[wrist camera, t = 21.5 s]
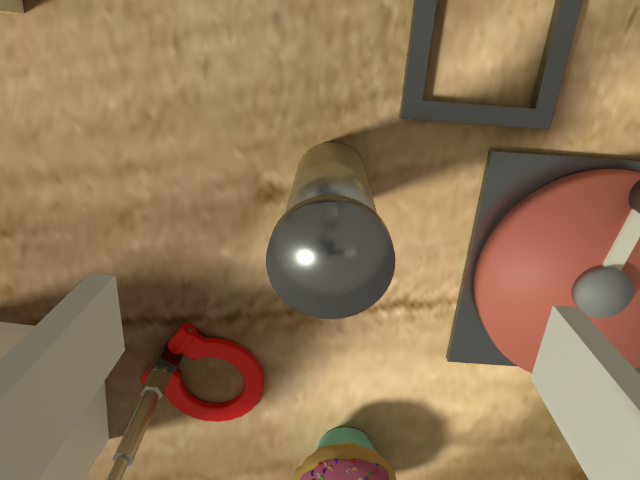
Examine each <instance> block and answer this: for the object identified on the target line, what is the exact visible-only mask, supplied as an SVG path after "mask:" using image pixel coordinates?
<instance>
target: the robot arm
mask: <svg viewBox="0 0 640 480" xmlns="http://www.w3.org/2000/svg"><path fill="white" fill-rule="evenodd" d="M124 351H125V346H124V338H123V330H122V322H121V314H120V306H119V298H118V290H117V282H116V275H114V274H100V273H89V274H88V275H87V276H86V277H85V278H84V279H83V280H82V281H81V282H80V283H79V284H78V285H77V286H76V287H75V288H74V289H73V290H72V291H71V292H70V293H69V294H68V295H67V296H66V297H65V298H64V299H62V300H61V301H60V302H59V303H58V304H57V305H56V306H55V307H54V308H53V309H52V310H51V311H50V312H49V313H48V314H47V315H46V316H45V317H44V318H43V319H42V320H41V321H40V322H39V323H38V324H37V325H36V326H35V327H34V328H33V329H32V330H31V331H30V332H29V333H28V334H26V335H25V336H24V337H23V338H22V339H21V340H20V341H19V342H18V343H17V344H16V345H15V346H14V347H13V348H12V349H11V350H10V351H9V352H8V353H7V354H6V355H5V356H4V357H3V358H2V359H1V360H0V480H39V479H40V478H41V476H42V475H43V473H44V472H45V470H46V469H47V467H48V466H49V464H50V463H51V461H52V460H53V458H54V456H55V455H56V453H57V452H58V450H59V449H60V447H61V446H62V444H63V443H64V441H65V440H66V438H67V437H68V435H69V434H70V432H71V431H72V429H73V428H74V426H75V425H76V423H77V422H78V420H79V419H80V417H81V416H82V414H83V413H84V411H85V410H86V408H87V407H88V405H89V404H90V402H91V401H92V399H93V398H94V396H95V395H96V393H97V392H98V390H99V389H100V387H101V386H102V384H103V383H104V381H105V380H106V378H107V377H108V375H109V374H110V372H111V371H112V369H113V368H114V366H115V364H116V363H117V361H118V360H119V358H120V357H121V355H122V354H123V352H124ZM530 379H531V380H532V382H533V384H534V386H535V387H536V389H537V391H538V392H539V394H540V396H541V398H542V399H543V401H544V403H545V405H546V406H547V408H548V410H549V412H550V413H551V415H552V417H553V418H554V420H555V422H556V424H557V425H558V427H559V429H560V431H561V432H562V434H563V436H564V438H565V439H566V441H567V443H568V444H569V446H570V448H571V450H572V451H573V453H574V455H575V457H576V458H577V460H578V462H579V463H580V465H581V467H582V469H583V470H584V472H585V474H586V476H587V477H588V479H589V480H640V374H639V373H638V372H637V371H636V370H635V369H634V368H633V367H632V365H631V364H630V363H629V362H628V361H627V360H626V359H625V358H624V357H623V356H622V354H621V353H620V352H619V351H618V350H617V349H616V348H615V347H614V346H613V344H612V343H611V342H610V341H609V340H608V339H607V338H606V337H605V336H604V335H603V333H602V332H601V331H600V330H599V329H598V328H597V327H596V326H595V325H594V324H593V322H592V321H591V320H590V319H589V318H588V317H587V316H586V315H585V314H584V313H583V311H582V310H581V309H580V308H579V307H571V306H556V305H553V307H552V310H551V314H550V317H549V320H548V323H547V326H546V330H545V333H544V336H543V339H542V342H541V346H540V349H539V352H538V355H537V359H536V362H535V365H534V368H533V371H532V375H531V378H530Z"/></svg>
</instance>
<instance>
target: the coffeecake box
mask: <svg viewBox="0 0 640 480" xmlns="http://www.w3.org/2000/svg"><path fill="white" fill-rule="evenodd" d="M0 13H11V14H23V13H24V8H23V1H22V0H0Z"/></svg>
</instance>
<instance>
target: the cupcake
mask: <svg viewBox="0 0 640 480" xmlns="http://www.w3.org/2000/svg"><path fill="white" fill-rule="evenodd" d="M293 480H396V476H395V472H394V470H393V468H392V467H391V466H390V465H389V464H388V462H387V461H386V460H384V459H383V458H382V457H381V455H380V454H379V453H378V452H376V451H375V450H374V448H373V445H372V443H371V441H370V439H369V438H368V437H367V435H366V434H364V433H363V432H362V431H360V430H358V429H355V428H350V427H340V428H335V429H333V430H330V431H329V432H327V433H326V434H325V435H324V436H323V437H322V438H321V440H320V442H319V445H318V447H317V450H316V451H315V452H314V453H313V454H312V455H310V456H309V457H308V458H307V459H306V460H305V462H304V463H303V464H302V466H300V467H299V468H297V470H296V471H295V474H294V477H293Z"/></svg>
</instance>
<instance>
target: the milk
mask: <svg viewBox="0 0 640 480" xmlns="http://www.w3.org/2000/svg"><path fill="white" fill-rule="evenodd" d="M34 327H35V326H32V325H24V324H15V323H6V322H0V360H1V359H2V358H3V357H4V356H5V355H6V354H7V353H8V352H9V351H10V350H11V349H12V348H13V347H14V346H15V345H16V344H17V343H18V342H19V341H20V340H21V339H22V338H23V337H24V336H25V335H26V334H28V333H29V332H30V331H31V330H32V329H33V328H34ZM108 440H109V433H108V419H107V406H106V392H105V381H104V383H103V384H102V386H101V387H100V389H99V390H98V392H97V393H96V395H95V396H94V398H93V399H92V401H91V402H90V404H89V405H88V407H87V408H86V410H85V411H84V413H83V414H82V416H81V417H80V419H79V420H78V422H77V423H76V425H75V426H74V428H73V429H72V431H71V432H70V434H69V435H68V437H67V438H66V440H65V441H64V443H63V444H62V446H61V447H60V449H59V450H58V452H57V453H56V455H55V456H54V458H53V460H52V461H51V463H50V464H49V466H48V467H47V469H46V470H45V472H44V473H43V475H42V476H41V478H40V479H39V480H83V479H84V477H85V476H86V474H87V473H88V471H89V470H90V468H91V467H92V465H93V463H94V462H95V460H96V459H97V457H98V456H99V454H100V452H101V451H102V449H103V448H104V446H105V445H106V443H107V442H108Z"/></svg>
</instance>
